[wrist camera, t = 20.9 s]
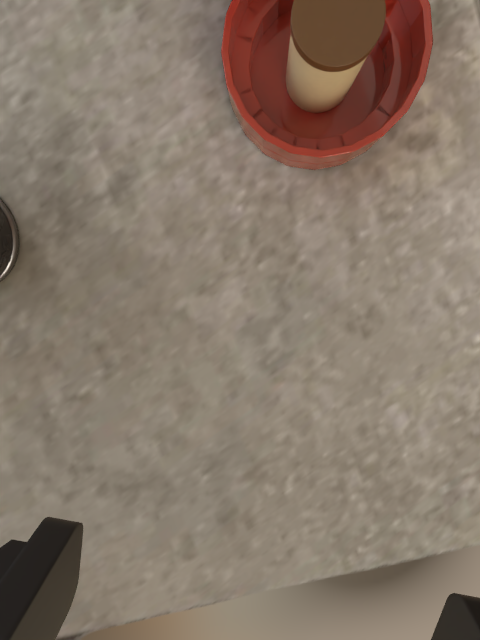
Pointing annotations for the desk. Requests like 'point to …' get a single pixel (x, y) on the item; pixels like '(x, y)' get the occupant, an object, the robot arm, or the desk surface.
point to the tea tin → (329, 48)
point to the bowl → (347, 117)
